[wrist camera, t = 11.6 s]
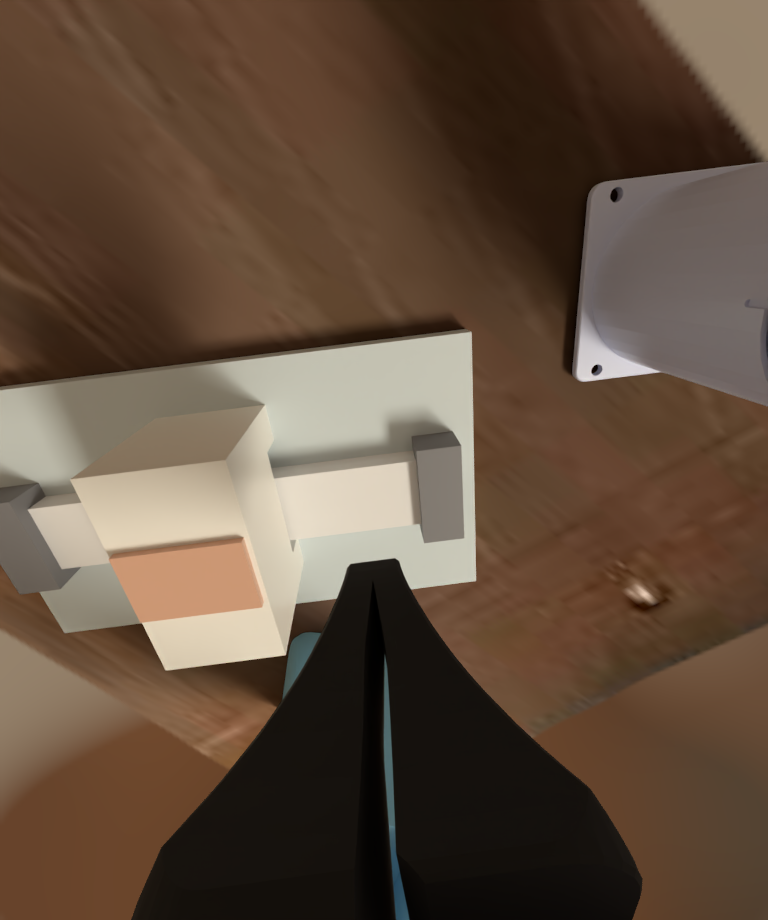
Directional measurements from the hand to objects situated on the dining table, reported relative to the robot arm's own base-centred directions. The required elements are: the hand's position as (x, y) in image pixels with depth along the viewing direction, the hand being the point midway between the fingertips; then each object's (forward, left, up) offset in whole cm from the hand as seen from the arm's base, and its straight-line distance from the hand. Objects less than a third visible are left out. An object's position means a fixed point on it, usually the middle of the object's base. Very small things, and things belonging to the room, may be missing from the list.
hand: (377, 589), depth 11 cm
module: (+7, +1, -9) cm, 12 cm away
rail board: (+7, +2, -10) cm, 13 cm away
